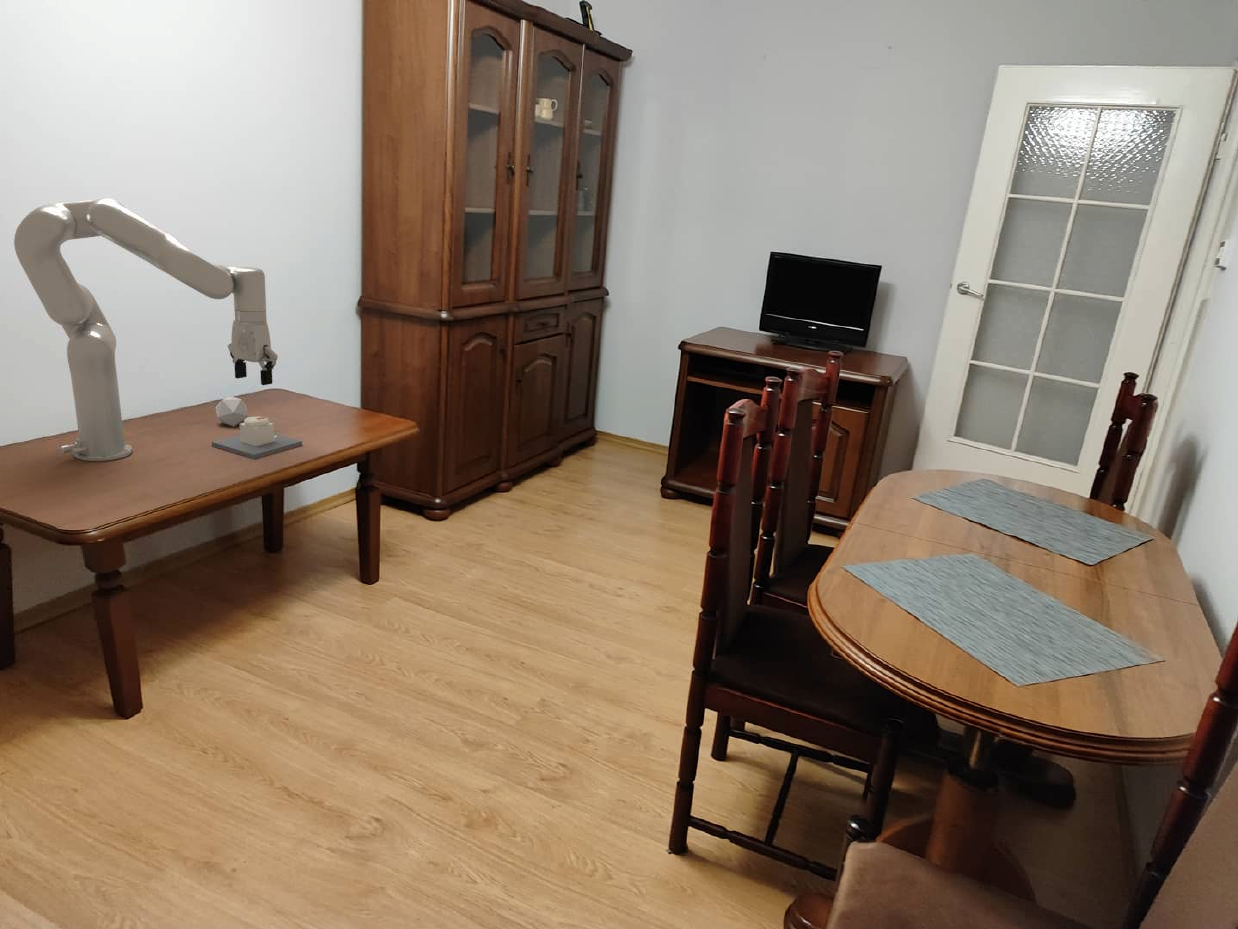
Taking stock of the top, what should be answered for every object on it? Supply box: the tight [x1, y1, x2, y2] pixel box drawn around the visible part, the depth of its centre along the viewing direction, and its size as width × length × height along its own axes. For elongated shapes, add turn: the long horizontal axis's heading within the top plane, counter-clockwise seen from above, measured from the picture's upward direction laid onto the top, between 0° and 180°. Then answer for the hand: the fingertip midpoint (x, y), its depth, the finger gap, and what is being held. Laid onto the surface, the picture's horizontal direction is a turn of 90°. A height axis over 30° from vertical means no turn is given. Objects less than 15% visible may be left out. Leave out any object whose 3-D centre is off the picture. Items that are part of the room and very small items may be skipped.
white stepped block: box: [239, 416, 275, 446], centre depth 221 cm, size 6×6×6 cm
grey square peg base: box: [211, 432, 303, 460], centre depth 222 cm, size 16×16×5 cm
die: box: [215, 395, 249, 427], centre depth 238 cm, size 8×9×10 cm
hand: (253, 380), depth 217 cm, fingers open, 9 cm apart
